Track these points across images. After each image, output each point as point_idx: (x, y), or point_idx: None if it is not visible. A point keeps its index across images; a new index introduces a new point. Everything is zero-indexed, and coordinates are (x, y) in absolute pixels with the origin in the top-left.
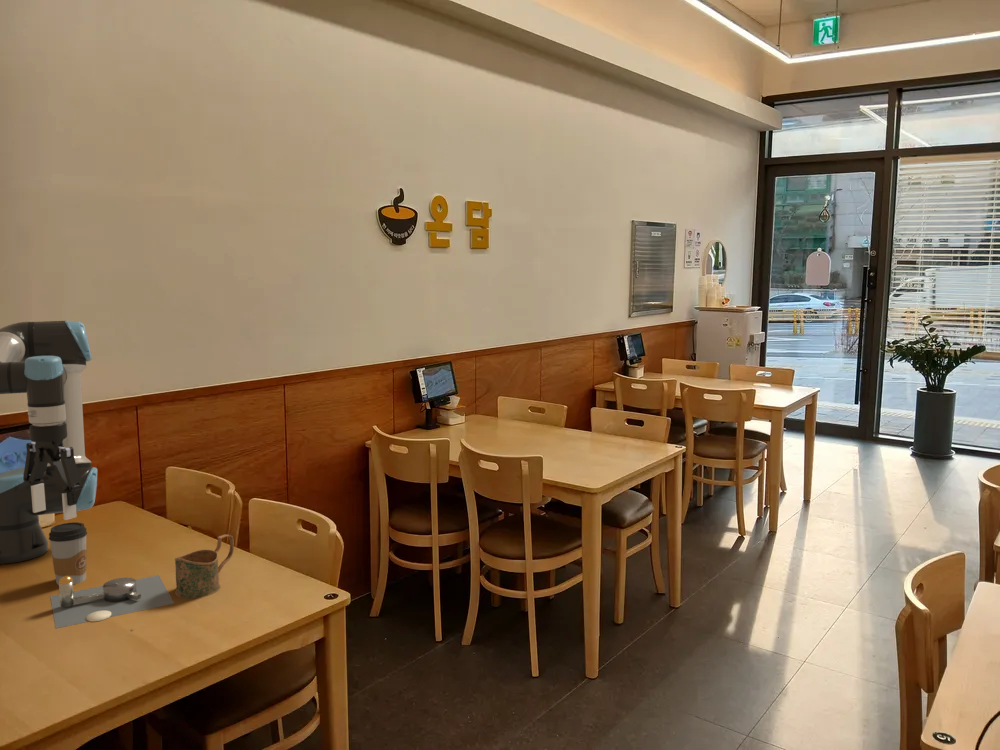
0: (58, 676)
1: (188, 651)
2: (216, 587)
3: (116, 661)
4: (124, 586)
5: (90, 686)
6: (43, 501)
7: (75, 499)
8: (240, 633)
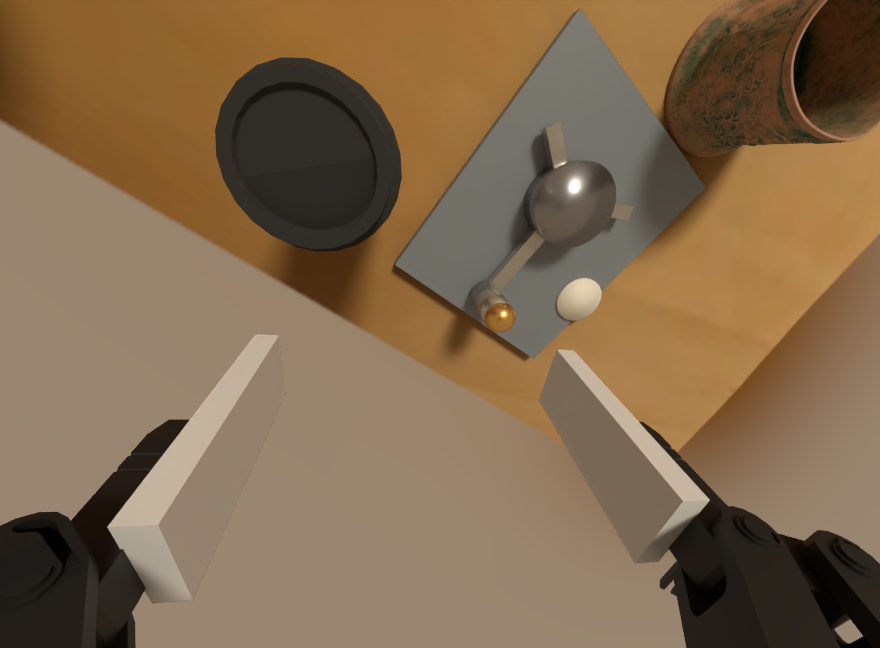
0: None
1: (770, 315)
2: (807, 67)
3: (673, 372)
4: (600, 218)
5: (670, 418)
6: (255, 384)
7: (673, 454)
8: (851, 234)
